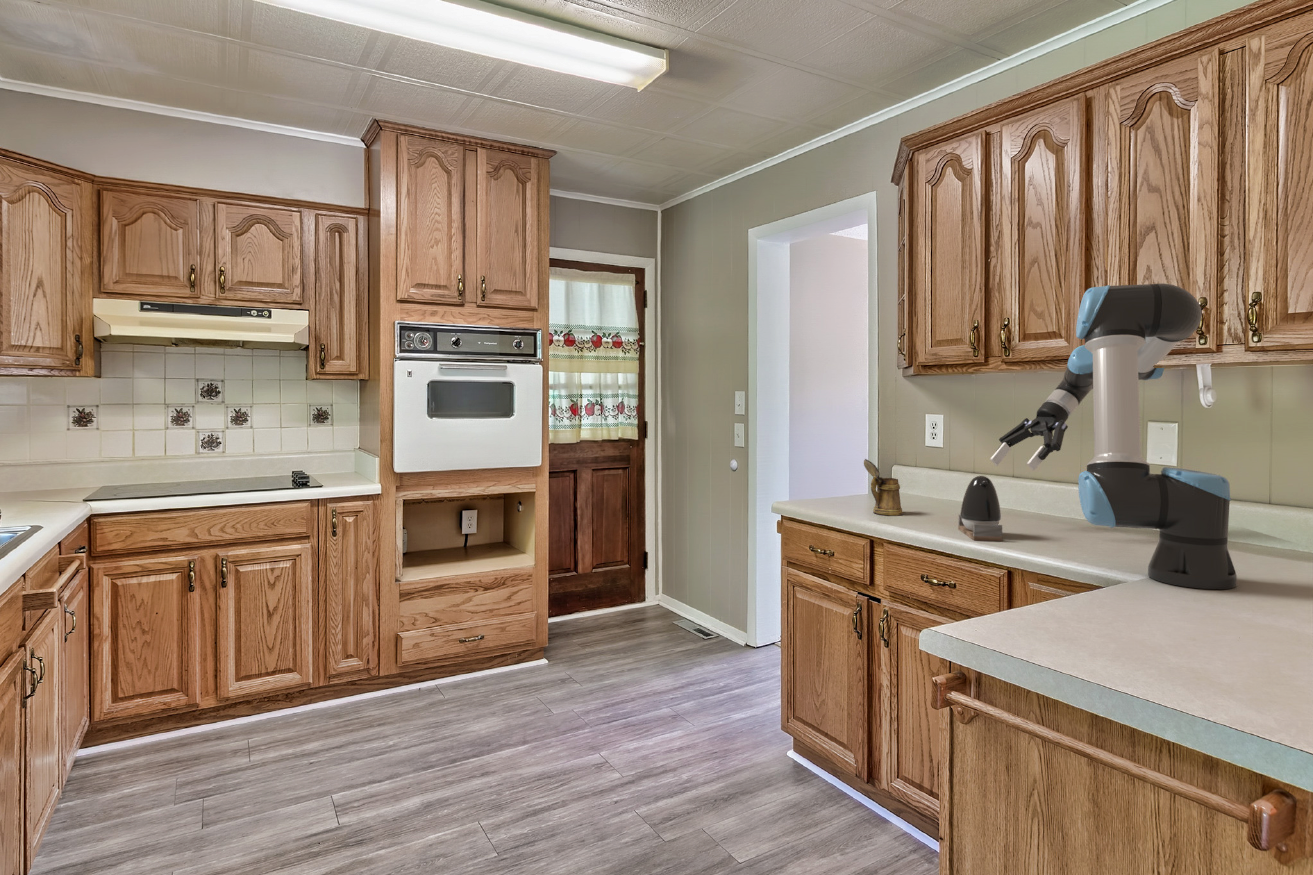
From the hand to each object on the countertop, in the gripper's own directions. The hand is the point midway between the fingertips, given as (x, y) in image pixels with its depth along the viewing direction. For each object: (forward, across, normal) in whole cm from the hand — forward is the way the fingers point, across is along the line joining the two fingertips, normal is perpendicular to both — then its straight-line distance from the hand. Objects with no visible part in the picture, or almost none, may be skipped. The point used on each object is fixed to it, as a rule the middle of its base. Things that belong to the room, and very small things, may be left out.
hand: (1011, 464), depth 208 cm
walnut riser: (+21, 0, -6) cm, 22 cm away
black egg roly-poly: (+20, 0, -6) cm, 21 cm away
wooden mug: (+25, +38, -3) cm, 45 cm away
